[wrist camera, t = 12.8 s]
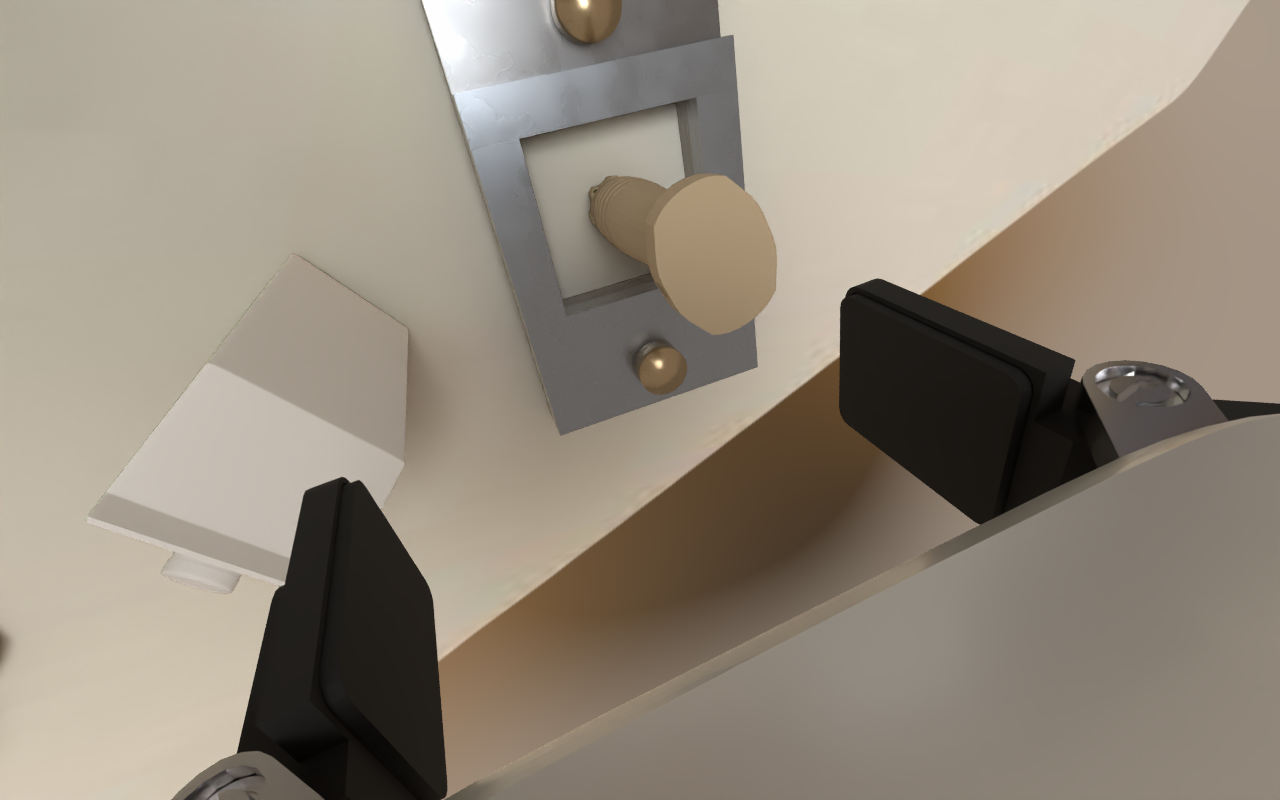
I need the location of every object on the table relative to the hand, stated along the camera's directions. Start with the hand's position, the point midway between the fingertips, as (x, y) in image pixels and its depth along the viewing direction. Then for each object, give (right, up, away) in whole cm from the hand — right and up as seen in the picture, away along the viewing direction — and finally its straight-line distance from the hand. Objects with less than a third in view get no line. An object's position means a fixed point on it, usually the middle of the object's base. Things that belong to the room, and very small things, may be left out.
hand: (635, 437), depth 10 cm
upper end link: (-1, +11, +26) cm, 28 cm away
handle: (-2, +13, +24) cm, 28 cm away
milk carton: (-19, +4, +22) cm, 29 cm away
